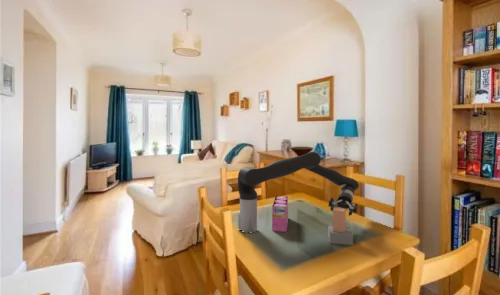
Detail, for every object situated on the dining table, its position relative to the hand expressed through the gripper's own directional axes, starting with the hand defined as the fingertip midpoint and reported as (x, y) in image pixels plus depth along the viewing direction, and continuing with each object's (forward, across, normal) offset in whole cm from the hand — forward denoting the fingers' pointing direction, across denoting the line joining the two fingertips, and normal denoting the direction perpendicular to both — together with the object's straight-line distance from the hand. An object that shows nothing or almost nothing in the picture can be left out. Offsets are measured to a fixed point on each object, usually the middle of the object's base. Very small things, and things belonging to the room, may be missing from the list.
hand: (340, 211), depth 126 cm
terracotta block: (+10, +1, +4) cm, 11 cm away
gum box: (+5, -30, +15) cm, 34 cm away
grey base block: (+11, +2, +9) cm, 14 cm away
